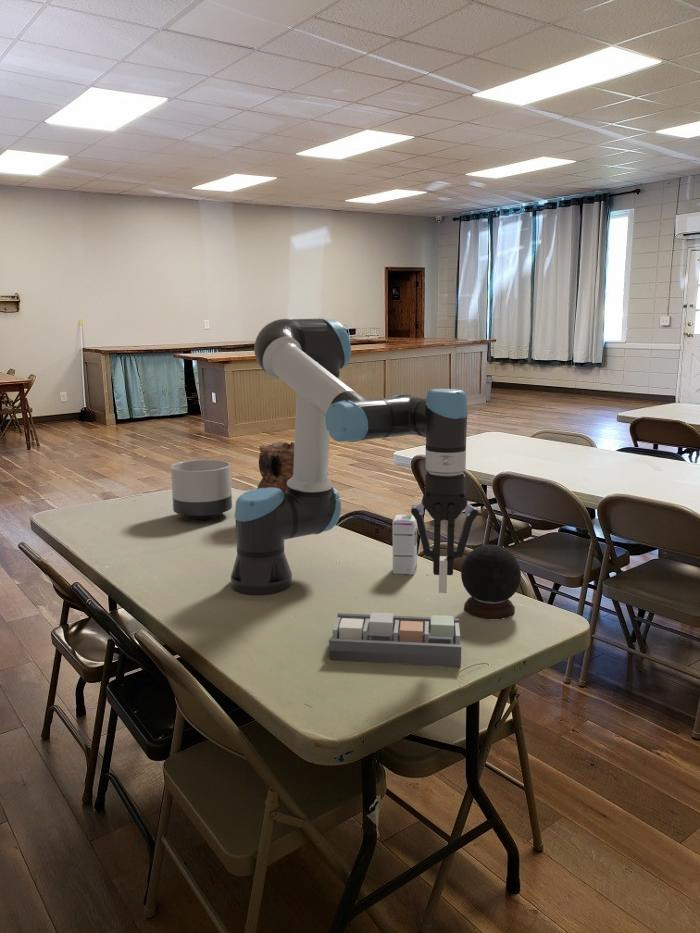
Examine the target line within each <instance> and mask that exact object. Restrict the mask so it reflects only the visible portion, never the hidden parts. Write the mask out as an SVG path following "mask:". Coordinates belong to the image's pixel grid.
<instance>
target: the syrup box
mask: <svg viewBox="0 0 700 933" xmlns="http://www.w3.org/2000/svg"><path fill="white" fill-rule="evenodd" d="M391 523H392V573H393V574H395V575H404V574H409V575H410V576H415V573H416V571H417V568H418V525H417V521H416V519H415V518H414V516H413V515H412V514H395V516H394V518H393V520H392V522H391Z"/></svg>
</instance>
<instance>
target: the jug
mask: <svg viewBox="0 0 700 933" xmlns="http://www.w3.org/2000/svg"><path fill="white" fill-rule="evenodd" d="M294 443H295V441H290V444H289V443H288V442H286V441H285V442H284V441H278V442H272V443H271V444H268V445H264V444H262V445H259V447H258V448H259V451H260V453H259V456H258V469H259V472H260V476H261V477H262V478H261V480H260V481H259V484H258V485H257V488H256V489H259V488H268V487H273V488H278V489H281V490H282V492H283V493H284V492H286V490H287V481H288V480H289V479H290V478H291V477H292V476H293V467H294Z"/></svg>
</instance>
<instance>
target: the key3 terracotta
mask: <svg viewBox="0 0 700 933" xmlns="http://www.w3.org/2000/svg"><path fill="white" fill-rule="evenodd" d="M400 642H417V643H423V622H419V621H401V623H400Z"/></svg>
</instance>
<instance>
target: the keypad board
mask: <svg viewBox="0 0 700 933" xmlns="http://www.w3.org/2000/svg"><path fill="white" fill-rule="evenodd" d="M370 616H371V614H367V613H366V614H365V613H364V614H362V613H346V612H345V613H341V612H340V613H339V612H338V613H337V616H336V618H335V621H334V625H333V628H332V638H329V645H328V647H329V648H328V649H329V651H328V652H329V653H328V654H329V657H328V658H329V661H343V662H363V663H381V664H384V663H385V664H400V665H417V666H419V665H421V666H436V665H437V666H438V665H442V666H443V667H456V666H461V667H462V644H461V630H460V619H459V618H457V617H456V618H454V637H440V636H431V616H410V615H407V616H406V615H393V631H392V634H376V633H369V621H370ZM342 618H351V619H364V629H363V636H362V640H355V639H339V626H340V622H341V619H342ZM401 621H419V622H423V643H417V642H400V623H401Z"/></svg>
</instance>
